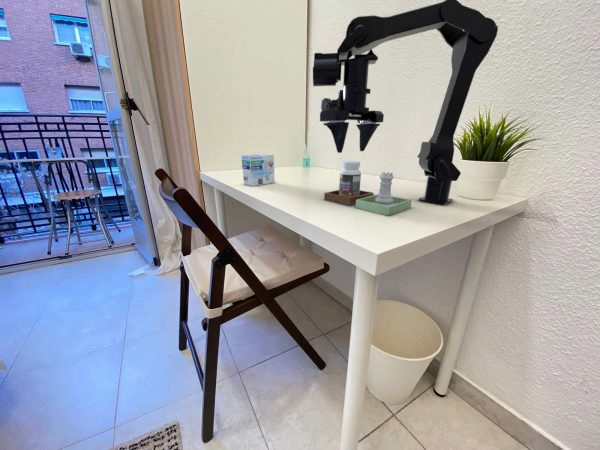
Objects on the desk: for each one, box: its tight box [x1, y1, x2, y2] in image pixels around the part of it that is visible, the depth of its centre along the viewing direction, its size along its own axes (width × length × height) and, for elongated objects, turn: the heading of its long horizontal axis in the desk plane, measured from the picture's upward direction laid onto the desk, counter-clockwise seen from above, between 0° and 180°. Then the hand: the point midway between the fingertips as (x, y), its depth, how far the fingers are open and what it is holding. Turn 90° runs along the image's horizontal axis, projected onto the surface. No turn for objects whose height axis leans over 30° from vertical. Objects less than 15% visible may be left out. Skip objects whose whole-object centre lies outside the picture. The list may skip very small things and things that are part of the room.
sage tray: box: [355, 193, 413, 216], centre depth 61 cm, size 10×9×2 cm
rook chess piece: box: [375, 171, 395, 206], centre depth 60 cm, size 4×4×8 cm
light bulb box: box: [240, 153, 276, 187], centre depth 93 cm, size 11×7×11 cm, turn 132°
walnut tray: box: [323, 189, 374, 207], centre depth 69 cm, size 10×9×2 cm
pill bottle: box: [338, 160, 362, 198], centre depth 67 cm, size 6×6×10 cm
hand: (351, 151), depth 65 cm, fingers open, 9 cm apart
